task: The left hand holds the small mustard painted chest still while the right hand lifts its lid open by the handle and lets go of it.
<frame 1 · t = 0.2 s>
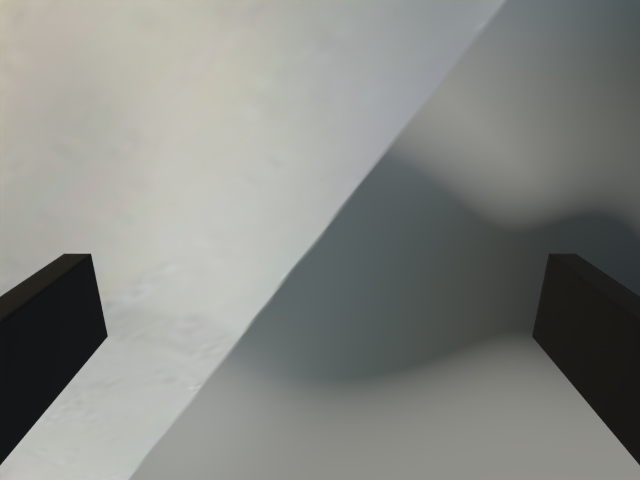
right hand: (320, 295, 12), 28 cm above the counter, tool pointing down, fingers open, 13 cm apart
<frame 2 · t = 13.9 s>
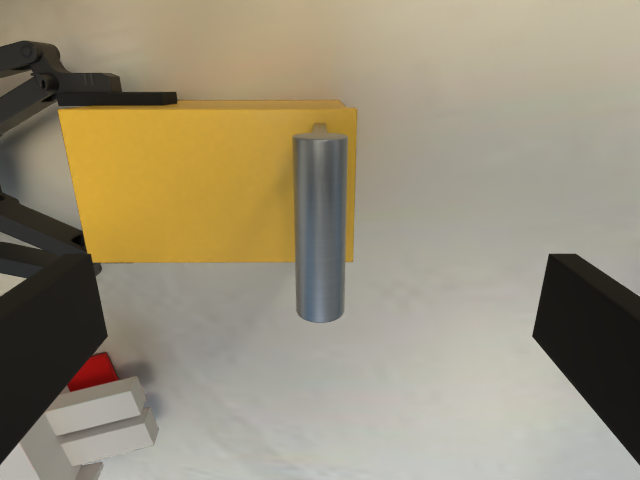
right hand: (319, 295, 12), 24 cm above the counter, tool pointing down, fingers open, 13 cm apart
toy: (22, 402, 44), on the counter
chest: (244, 157, 35), on the counter, touching left hand
lid: (198, 207, 21), point 15 cm above the counter, hinge at 0.0°
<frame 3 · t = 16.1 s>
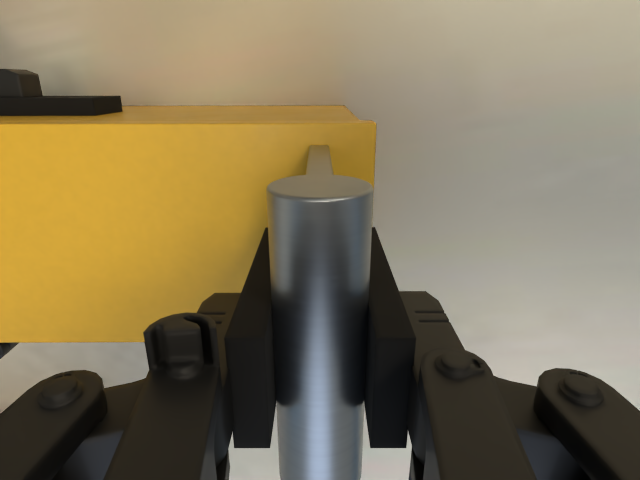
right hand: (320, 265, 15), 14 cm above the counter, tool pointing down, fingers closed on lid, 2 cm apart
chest: (221, 179, 27), on the counter, touching left hand
lid: (125, 282, 13), point 15 cm above the counter, hinge at -0.1°, touching right hand
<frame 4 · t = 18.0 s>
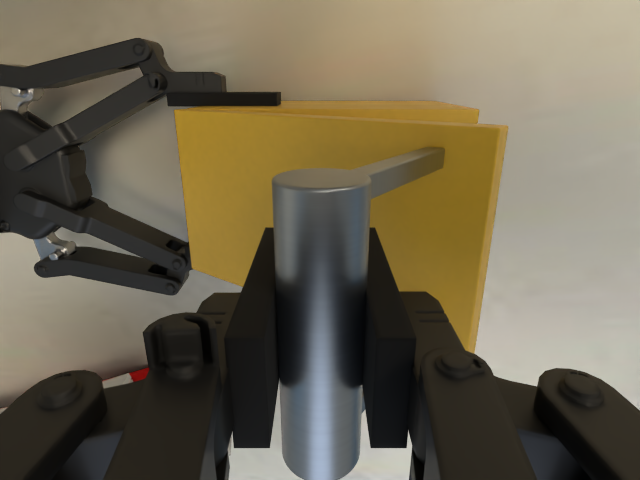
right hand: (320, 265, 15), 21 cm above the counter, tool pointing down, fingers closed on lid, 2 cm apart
left hand: (281, 176, 28), fingers closed on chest, 9 cm apart
toy: (86, 410, 43), on the counter
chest: (331, 159, 34), on the counter, touching left hand
lid: (244, 242, 17), point 19 cm above the counter, hinge at 33.2°, touching right hand
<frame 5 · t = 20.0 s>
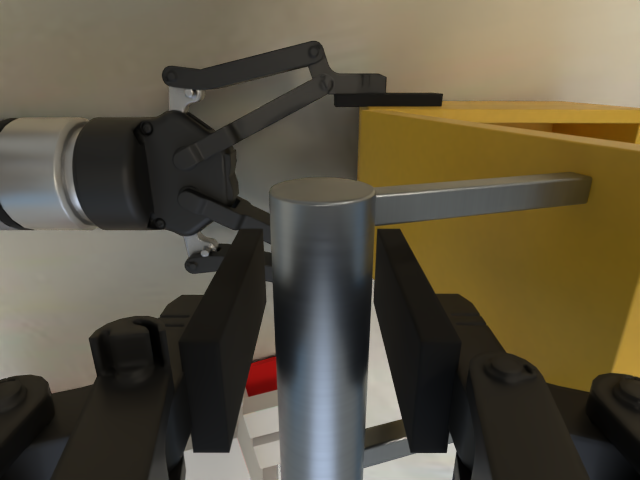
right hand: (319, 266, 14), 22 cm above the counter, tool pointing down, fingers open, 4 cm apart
left hand: (429, 174, 29), fingers closed on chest, 9 cm apart
toy: (187, 404, 44), on the counter
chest: (453, 158, 35), on the counter, touching left hand
lid: (357, 245, 16), point 20 cm above the counter, hinge at 70.0°
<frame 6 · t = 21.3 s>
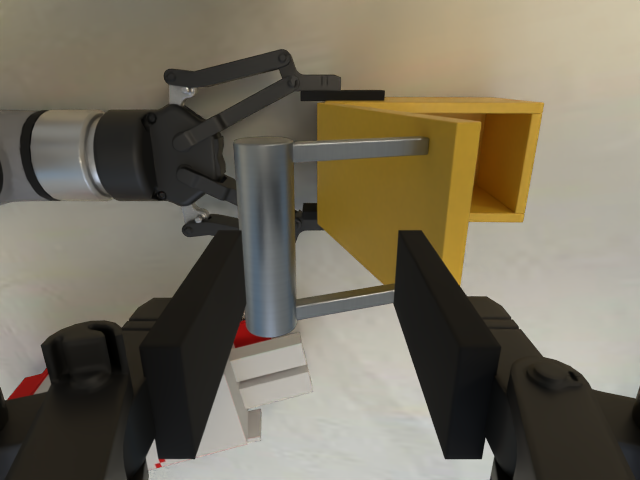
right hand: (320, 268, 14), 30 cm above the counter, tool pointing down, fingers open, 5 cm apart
left hand: (379, 155, 36), fingers closed on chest, 9 cm apart
toy: (183, 360, 51), on the counter
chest: (406, 145, 42), on the counter, touching left hand
lid: (305, 196, 23), point 20 cm above the counter, hinge at 69.1°
when the left hand's fingers open (7 cm above the counter, at t = 23.7 s): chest stays where it is, on the counter.
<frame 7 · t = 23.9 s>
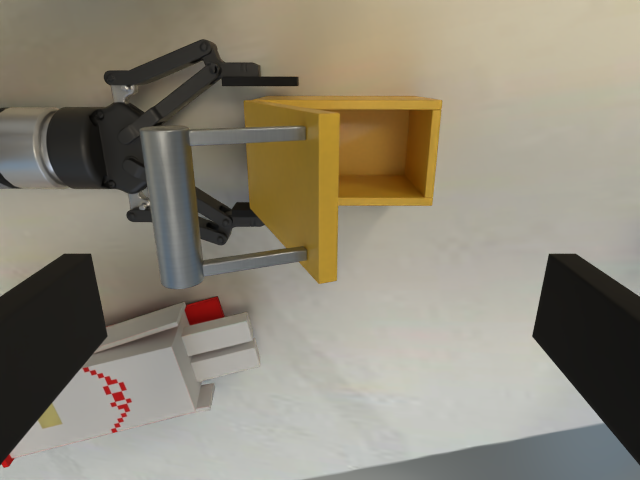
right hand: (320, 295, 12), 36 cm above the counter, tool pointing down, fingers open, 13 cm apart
left hand: (299, 148, 40), fingers open, 11 cm apart
toy: (145, 339, 55), on the counter
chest: (340, 139, 46), on the counter
lid: (222, 179, 28), point 20 cm above the counter, hinge at 67.8°
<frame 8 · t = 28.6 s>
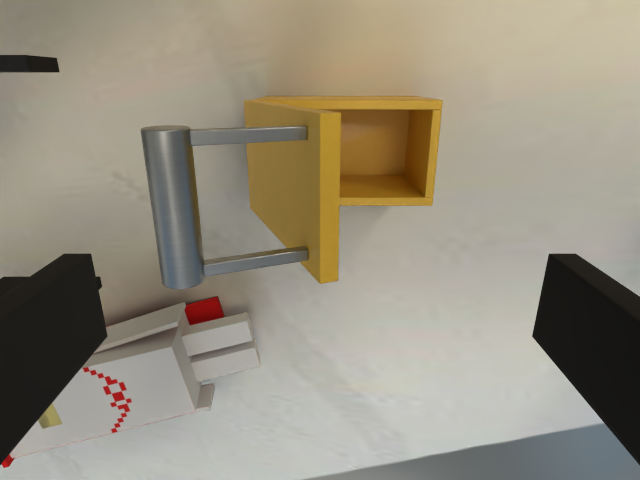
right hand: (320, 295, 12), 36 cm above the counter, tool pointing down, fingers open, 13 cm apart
toy: (145, 339, 55), on the counter
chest: (340, 139, 46), on the counter
lid: (223, 178, 28), point 20 cm above the counter, hinge at 67.8°
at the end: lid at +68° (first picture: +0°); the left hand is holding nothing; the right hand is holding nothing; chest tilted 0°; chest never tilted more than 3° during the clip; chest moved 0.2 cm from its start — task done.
